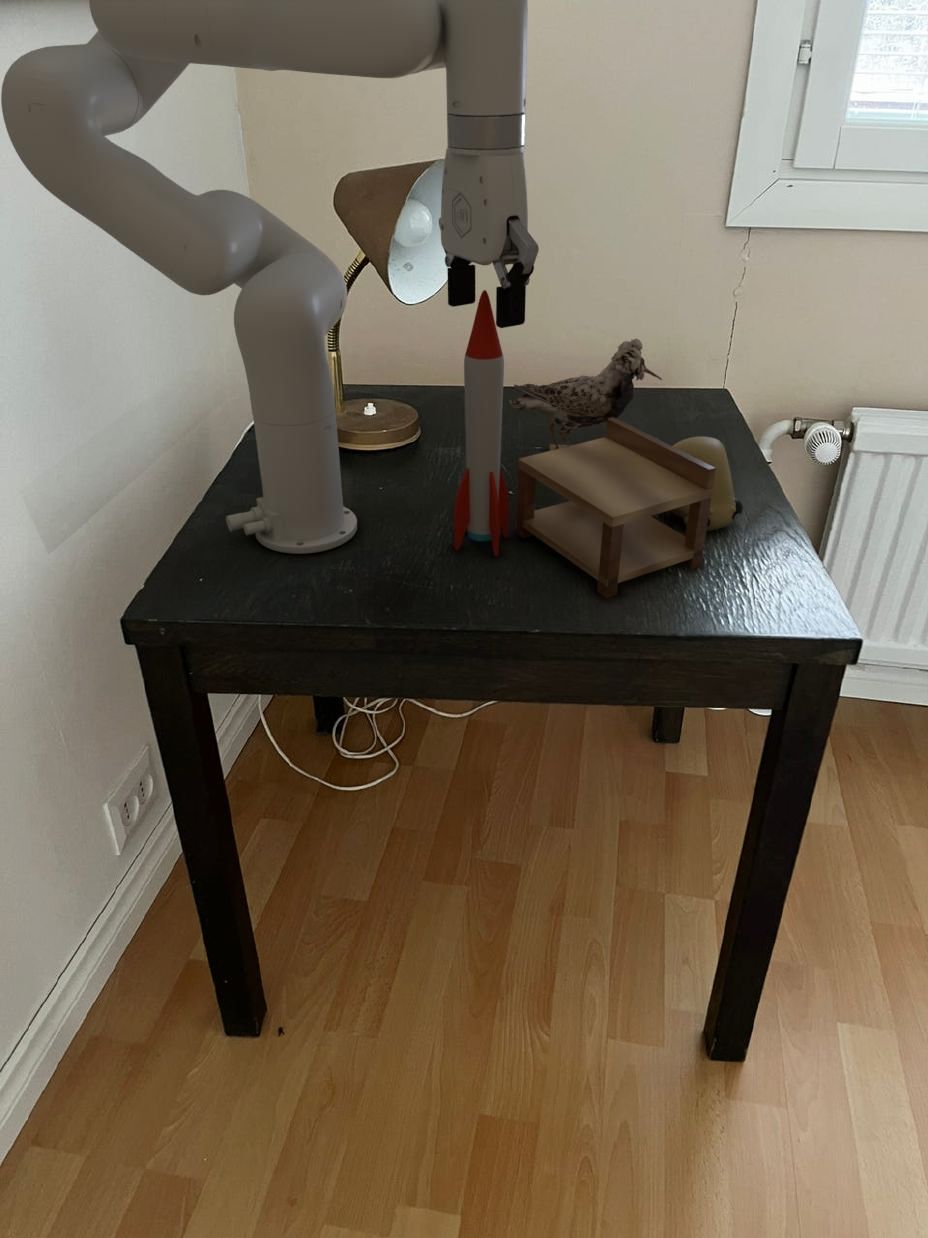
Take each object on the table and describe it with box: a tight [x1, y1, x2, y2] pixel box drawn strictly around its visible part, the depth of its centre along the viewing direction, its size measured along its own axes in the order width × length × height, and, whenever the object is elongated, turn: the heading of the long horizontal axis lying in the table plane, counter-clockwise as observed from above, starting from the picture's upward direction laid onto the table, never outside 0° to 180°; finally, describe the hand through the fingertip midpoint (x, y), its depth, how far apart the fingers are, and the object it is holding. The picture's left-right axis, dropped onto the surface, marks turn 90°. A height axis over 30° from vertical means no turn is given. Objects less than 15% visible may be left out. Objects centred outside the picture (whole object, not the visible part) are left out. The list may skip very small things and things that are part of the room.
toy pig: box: [669, 436, 744, 532], centre depth 119 cm, size 10×12×11 cm
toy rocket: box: [453, 289, 510, 557], centre depth 108 cm, size 6×6×30 cm
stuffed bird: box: [509, 337, 663, 451], centre depth 132 cm, size 10×20×17 cm, turn 106°
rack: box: [515, 417, 716, 599], centre depth 111 cm, size 14×18×12 cm
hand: (485, 314), depth 101 cm, fingers open, 9 cm apart
